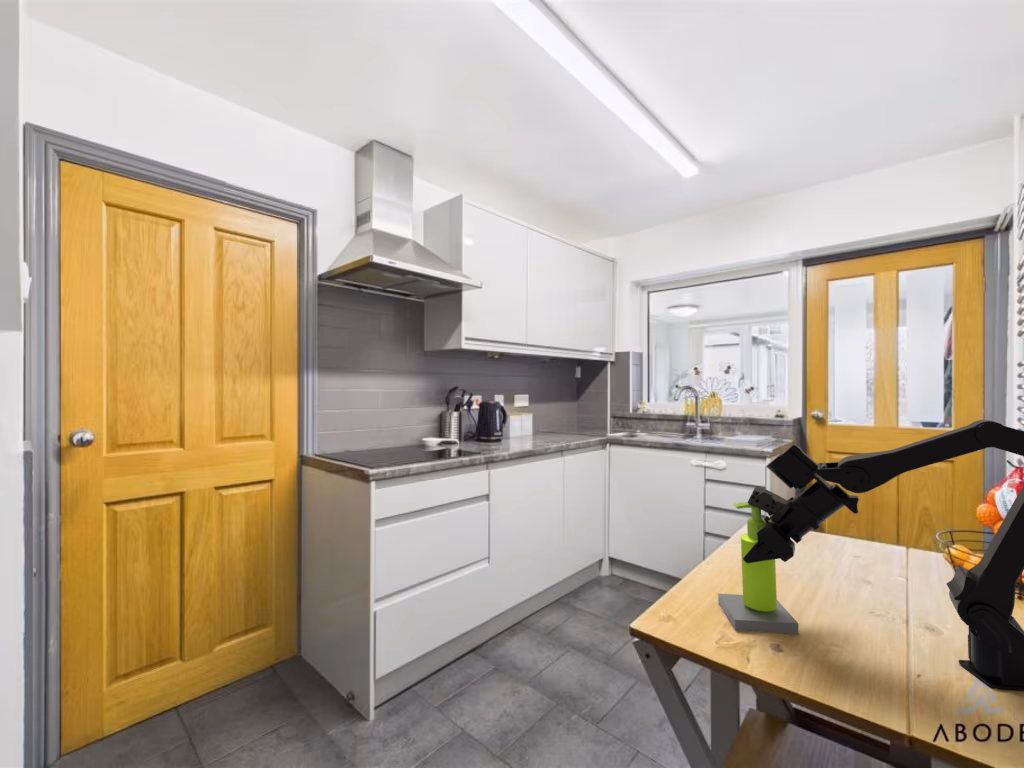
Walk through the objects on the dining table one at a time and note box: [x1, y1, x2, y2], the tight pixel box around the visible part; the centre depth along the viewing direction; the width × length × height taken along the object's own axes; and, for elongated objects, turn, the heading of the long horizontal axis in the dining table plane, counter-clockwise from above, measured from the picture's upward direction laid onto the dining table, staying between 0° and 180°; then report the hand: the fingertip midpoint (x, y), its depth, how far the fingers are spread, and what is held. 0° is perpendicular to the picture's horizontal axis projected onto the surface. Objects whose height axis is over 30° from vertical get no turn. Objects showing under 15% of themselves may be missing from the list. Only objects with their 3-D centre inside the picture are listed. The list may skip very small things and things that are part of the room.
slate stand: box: [717, 593, 799, 635], centre depth 91 cm, size 11×11×2 cm
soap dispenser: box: [732, 501, 778, 611], centre depth 91 cm, size 6×7×20 cm
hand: (747, 556), depth 92 cm, fingers closed on soap dispenser, 6 cm apart
